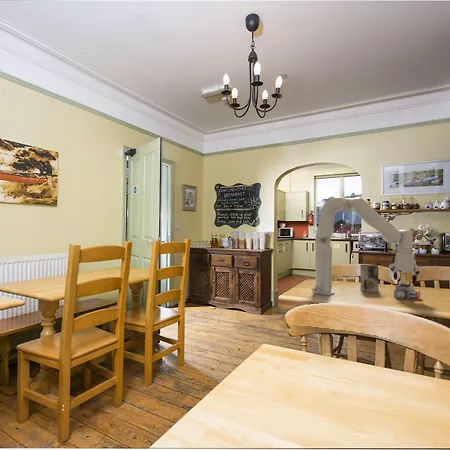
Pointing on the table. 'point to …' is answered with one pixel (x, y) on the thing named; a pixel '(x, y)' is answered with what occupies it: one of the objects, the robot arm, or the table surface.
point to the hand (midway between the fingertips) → (404, 280)
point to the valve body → (406, 292)
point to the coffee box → (369, 277)
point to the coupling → (404, 279)
